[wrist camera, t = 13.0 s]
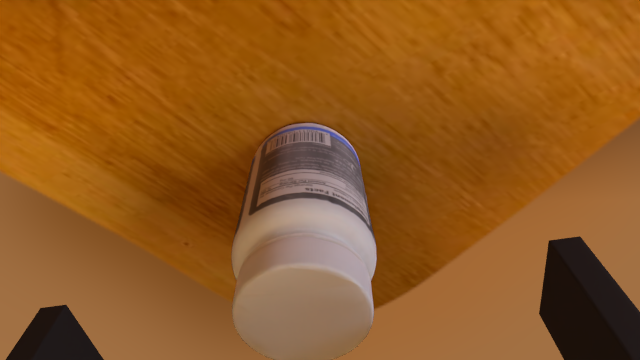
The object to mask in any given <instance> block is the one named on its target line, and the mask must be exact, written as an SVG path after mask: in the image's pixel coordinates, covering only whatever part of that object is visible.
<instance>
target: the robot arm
mask: <svg viewBox="0 0 640 360" xmlns="http://www.w3.org/2000/svg"><path fill="white" fill-rule="evenodd" d="M539 314H540V316H541V318H542V320H543V322H544V323H545V325H546V327H547V329H548V331H549V333H550V334H551V336H552V338H553V340H554V342H555V344H556V345H557V347H558V349H559V351H560V353H561V355H562V357H563V358H564V360H640V312H639V310H638V309H637V308H636V307H635V305H634V304H633V303H632V301H631V300H630V299H629V298H628V296H627V295H626V294H625V293H624V292H623V290H622V289H621V288H620V286H619V285H618V284H617V283H616V281H615V280H614V279H613V278H612V276H611V275H610V274H609V272H608V271H607V270H606V269H605V267H604V266H603V265H602V264H601V262H600V261H599V260H598V259H597V257H596V256H595V255H594V254H593V252H592V251H591V250H590V248H589V247H588V246H587V245H586V243H585V242H584V241H583V240H582V238H581V237H573V238H565V239H558V240H551V241H549V244H548V252H547V259H546V267H545V274H544V282H543V290H542V297H541V304H540V312H539ZM6 360H104V359H103V358H102V357H101V355H100V354H99V353H98V351H97V349H96V348H95V346H94V345H93V344H92V342H91V340H90V339H89V338H88V336H87V335H86V333H85V332H84V330H83V329H82V327H81V326H80V324H79V323H78V321H77V320H76V319H75V317H74V316H73V314H72V313H71V311H70V310H69V308H68V307H67V305H62V306H54V307H46V308H40V310H39V311H38V313H37V314H36V316H35V318H34V319H33V320H32V322H31V323H30V325H29V326H28V328H27V329H26V331H25V332H24V334H23V335H22V336H21V338H20V339H19V341H18V342H17V344H16V345H15V347H14V348H13V350H12V351H11V353H10V354H9V356H8V357H7V359H6Z"/></svg>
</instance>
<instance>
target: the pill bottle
mask: <svg viewBox="0 0 640 360" xmlns="http://www.w3.org/2000/svg"><path fill="white" fill-rule="evenodd" d="M376 259H377V256H376V243H375V237H374V233H373V230H372V224H371V220H370V215H369V210H368V205H367V197H366V194H365V189H364V184H363V178H362V174H361V168H360V163H359V160H358V156H357V154H356V152H355V150H354V148H353V146H352V145H351V144H350V143H349V142H348V140H346V139H345V138H344V137H343V136H342V135H340V134H339V133H338V132H336V131H334V130H332V129H330V128H328V127H326V126H323V125H319V124H314V123H300V124H293V125H289V126H286V127H283V128H281V129H279V130H277V131H276V132H274V133H273V134H271V135H270V136H269V137H268V138H267V139H266V140H265V141H264V142H263V143H262V144H261V145H260V147H259V148H258V150H257V152H256V154H255V156H254V159H253V161H252V165H251V169H250V173H249V177H248V182H247V186H246V190H245V194H244V199H243V203H242V207H241V212H240V216H239V220H238V224H237V228H236V232H235V236H234V240H233V245H232V267H233V271H234V274H235V277H236V280H237V283H236V289H235V294H234V299H233V305H232V316H233V322H234V326H235V328H236V330H237V332H238V334H239V335H240V337H241V338H242V339H243V341H245V342H246V343H247V344H248V345H249V346H250V347H251V348H252V349H254V350H255V351H257V352H259V353H260V354H262V355H264V356H266V357H268V358H271V359H274V360H332V359H335V358H338V357H340V356H343V355H345V354H347V353H348V352H350V351H352V350H353V349H354V348H356V347H357V346H358V345H359V344H360V343H361V342H362V341H363V340H364V339H365V337H366V336H367V334H368V332H369V330H370V328H371V326H372V323H373V318H374V306H373V298H372V287H371V280H372V277H373V275H374V271H375V267H376Z"/></svg>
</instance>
